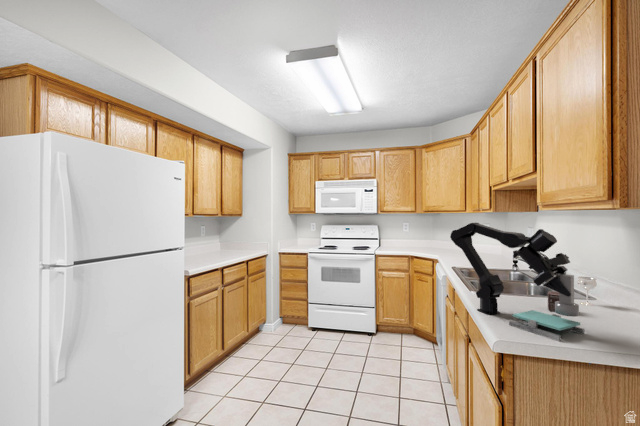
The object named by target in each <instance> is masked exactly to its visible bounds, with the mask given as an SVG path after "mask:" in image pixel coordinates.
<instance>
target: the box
mask: <svg viewBox="0 0 640 426" xmlns="http://www.w3.org/2000/svg"><path fill="white" fill-rule="evenodd" d="M555 301H559V292H557V291H547V309H548V311H549V312H553V313H556V312H555Z"/></svg>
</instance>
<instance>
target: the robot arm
mask: <svg viewBox="0 0 640 426" xmlns="http://www.w3.org/2000/svg"><path fill="white" fill-rule="evenodd" d="M476 233H477V234H479V235H482V236H485V237H488V238H489V239H490V238H491V239H494V240H496V241H498V242H499V243H501V245H503V246H505V247H508V248H510V249H515V250H513V251H512V258H513V259H516V258H520V259H522V260H523V261H524V262H525V263H526V264H527V265H528V268H529V269H530V270H533V271H534V272H535V273H536V274H537V275H536V276H534V277H533V284H535V285H536V286H537V287H540V286H541V285H542V284H543V283H544V284H543V285H542V287H546V288H547V289H551V290H552V291H554V292H558V293H561V294H563V295H566V296H568V297H569V296H571V294H570V293H569V291H568V290H567V289H566V288H565V286H564V285H563V284H562V283H561V282H560V275H561V274H566V275H567V271H568V268H567V267H566V266H564V265H568V264H570V263H571V261H570V259H569V258H570V257H569V256H568V255H567V254H564V253H562V252H559V253H556V254H555V257H552V258H549V257H547V256H543V255H542V254H541V253H545V252H547V250H549V249H550V248H551V247H553V246H554V245H555V244H556V243H557V242H558V240H557V238H556V237H555V236H554V235H553V234H551V233H550V232H547V231H546V230H544V229H542V228H540V229H538V230H536V232H535V233H534V234H533V235H532V236H526V235H525V234H524V233H522V232H516V231H504V230H500V229H498V228H494V227H490V226H488V225H485V224H481V223H479V222H470V223H468V224H466V225H465V226H464V225H463V226H462V227H459V228H458V229H454V230H452V231H451V233H450V238H449V239H450V240H451V241H452V243H454V245H455V246H456V247H458V248H459V249H461V250H462V252H463V254H464V255H465V257H466V258H467V260H468V262H469V264H470V265H471V267H472V268H473V270H474V272H475V273H476V275H477V276H478V283H479V286H480V289H478V290H477V291H476V292H475V294H476V297H477V298H478V299H479V308H476V310H477V311H478V312H481V313H483V314H486V315H495V314H501V311H498V299H497V298H501V294H503V292H504V289H505V287H504V282H503V281H502V280H501V279H500V277H499V275H498V274H493V273H491V272H490V270H489V269H488V267H487V266H486V264H485V263H484V261H483V259H482V258H481V256H480V254H479V253H478V252H477V250H476V248H475V247H474V245H473V238H472V237H473V236H475V235H476ZM517 248H519V249H517ZM516 249H517V250H516ZM540 252H541V253H540Z"/></svg>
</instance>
